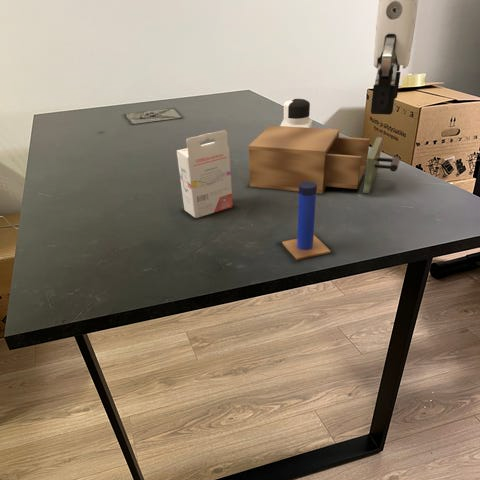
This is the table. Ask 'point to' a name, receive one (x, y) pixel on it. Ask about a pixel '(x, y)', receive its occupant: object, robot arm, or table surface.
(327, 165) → the drawer
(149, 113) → the mousepad
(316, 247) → the coaster
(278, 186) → the cabinet
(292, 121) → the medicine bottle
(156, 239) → the table surface
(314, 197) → the marker
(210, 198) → the ink cartridge box
